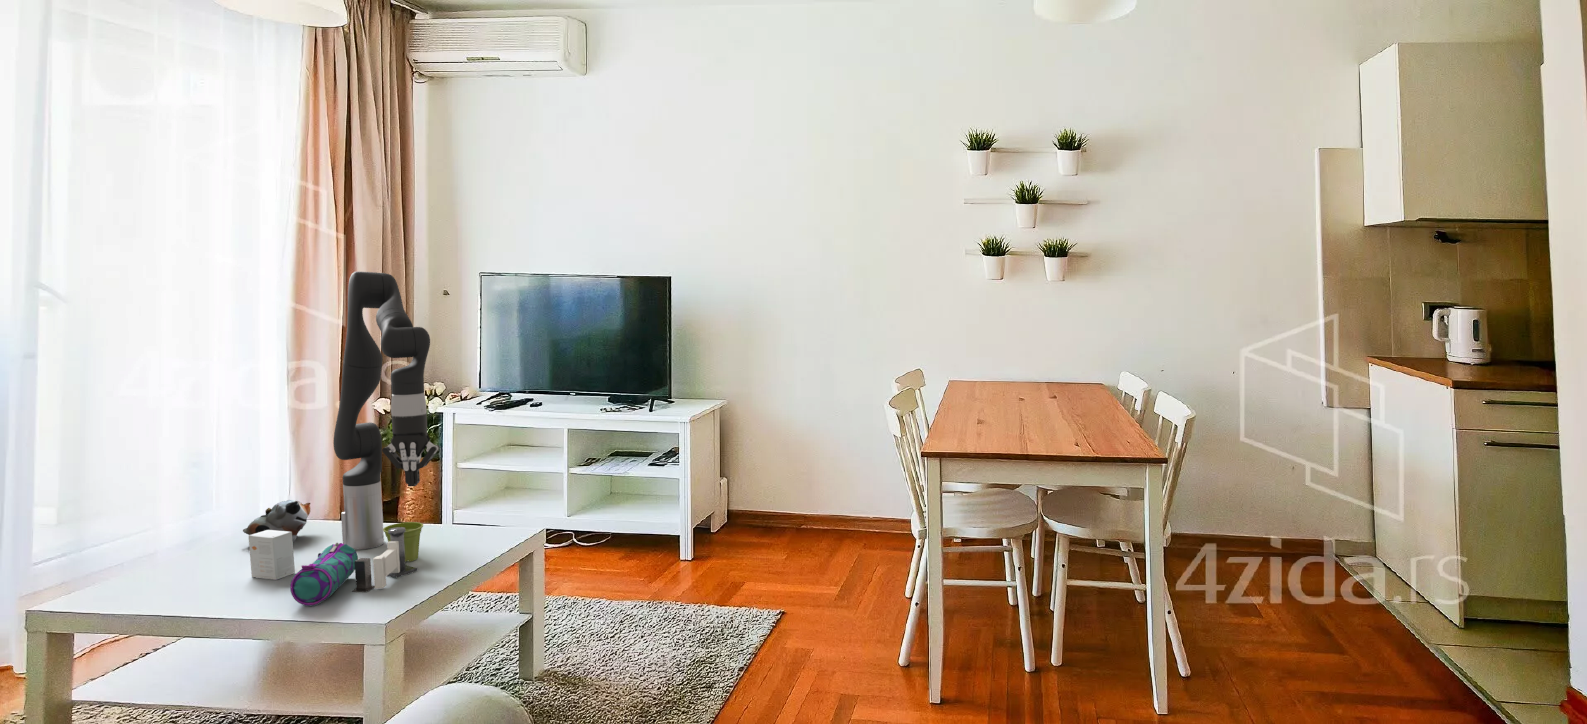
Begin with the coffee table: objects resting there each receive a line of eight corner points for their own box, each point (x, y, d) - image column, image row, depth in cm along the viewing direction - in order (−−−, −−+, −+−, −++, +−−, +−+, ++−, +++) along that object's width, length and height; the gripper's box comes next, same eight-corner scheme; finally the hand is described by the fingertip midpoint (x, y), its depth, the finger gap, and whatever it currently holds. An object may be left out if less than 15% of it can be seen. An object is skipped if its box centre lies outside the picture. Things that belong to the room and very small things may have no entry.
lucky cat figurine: (271, 533, 257) (295, 489, 259) (303, 552, 255) (328, 507, 257) (232, 532, 243) (258, 485, 245) (266, 552, 240) (292, 504, 242)
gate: (390, 573, 218) (389, 541, 217) (400, 573, 218) (398, 540, 217) (373, 588, 207) (372, 554, 206) (383, 588, 207) (381, 554, 207)
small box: (295, 573, 221) (293, 531, 220) (275, 580, 216) (273, 537, 215) (270, 570, 224) (268, 528, 223) (250, 577, 218) (247, 535, 217)
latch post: (352, 591, 207) (350, 561, 206) (361, 586, 210) (359, 557, 210) (367, 592, 206) (365, 562, 206) (375, 586, 210) (374, 557, 209)
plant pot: (410, 566, 225) (408, 532, 225) (376, 564, 227) (375, 530, 226) (432, 555, 234) (430, 522, 234) (400, 553, 236) (398, 521, 236)
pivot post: (380, 574, 219) (377, 530, 219) (402, 567, 225) (399, 524, 224) (395, 577, 216) (393, 533, 215) (417, 570, 222) (415, 527, 221)
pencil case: (320, 579, 216) (317, 540, 215) (359, 577, 218) (357, 538, 217) (289, 610, 196) (286, 567, 195) (333, 606, 198) (330, 564, 197)
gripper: (443, 410, 214) (446, 481, 216) (386, 411, 214) (390, 482, 215) (432, 414, 207) (435, 488, 208) (373, 415, 206) (377, 490, 208)
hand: (412, 485), depth 212 cm, fingers closed
